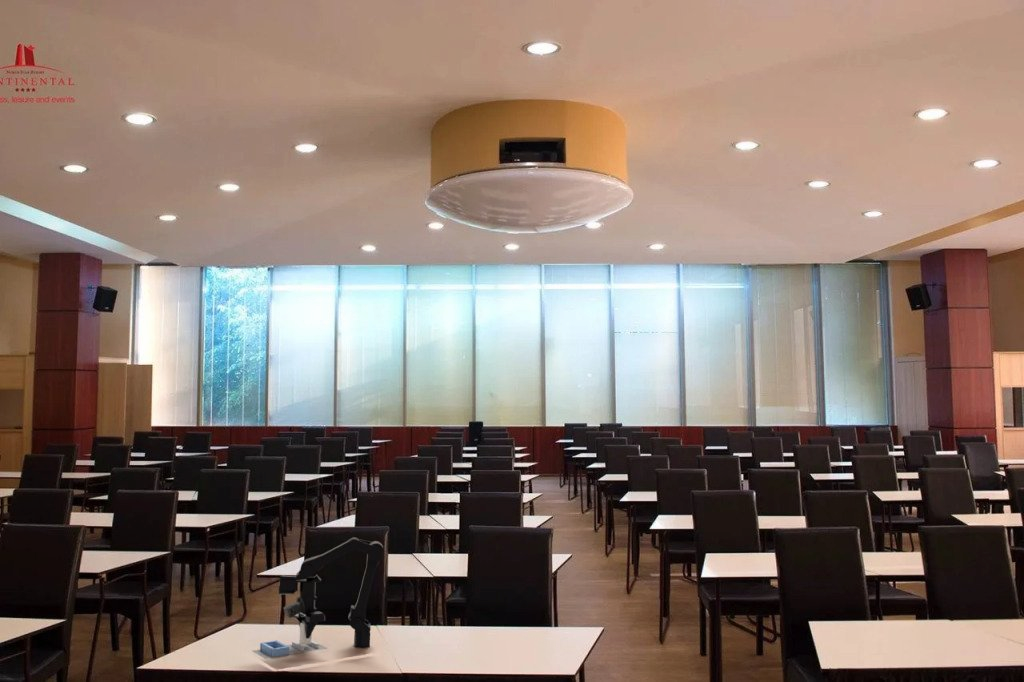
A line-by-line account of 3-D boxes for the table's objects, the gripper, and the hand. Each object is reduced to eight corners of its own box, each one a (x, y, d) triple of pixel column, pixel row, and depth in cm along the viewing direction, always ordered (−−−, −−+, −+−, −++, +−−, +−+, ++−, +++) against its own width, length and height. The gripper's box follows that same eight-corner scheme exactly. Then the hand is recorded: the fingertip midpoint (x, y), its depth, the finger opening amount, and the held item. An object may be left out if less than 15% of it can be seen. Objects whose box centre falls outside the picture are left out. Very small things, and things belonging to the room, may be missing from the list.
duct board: (327, 650, 312) (327, 641, 313) (265, 661, 297) (265, 651, 297) (312, 643, 321) (313, 634, 322) (251, 653, 306) (252, 643, 307)
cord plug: (311, 643, 313) (312, 621, 314) (303, 644, 311) (304, 622, 312) (307, 641, 316) (308, 619, 316) (299, 642, 314) (300, 620, 314)
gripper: (276, 592, 317) (274, 635, 316) (298, 601, 303) (296, 646, 301) (304, 589, 324) (302, 631, 323) (326, 597, 310) (324, 641, 308)
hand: (305, 637), depth 313 cm, fingers closed on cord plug, 3 cm apart
